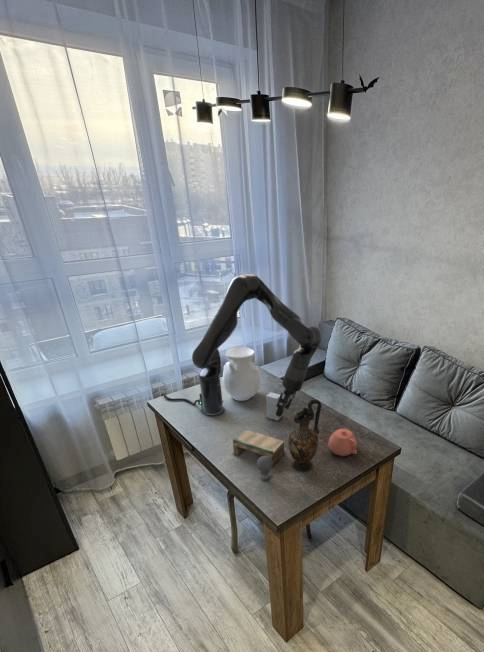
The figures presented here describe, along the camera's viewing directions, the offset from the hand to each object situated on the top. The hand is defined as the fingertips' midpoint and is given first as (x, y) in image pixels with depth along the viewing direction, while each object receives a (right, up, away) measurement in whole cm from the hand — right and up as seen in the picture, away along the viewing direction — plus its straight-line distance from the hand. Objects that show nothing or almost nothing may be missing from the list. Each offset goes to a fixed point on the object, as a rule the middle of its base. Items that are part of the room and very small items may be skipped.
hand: (282, 411), depth 157 cm
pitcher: (-25, +7, +47) cm, 54 cm away
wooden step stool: (-10, -17, +7) cm, 22 cm away
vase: (+8, -22, +2) cm, 23 cm away
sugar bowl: (+25, -17, +11) cm, 32 cm away
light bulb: (-6, -25, -5) cm, 27 cm away
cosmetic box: (-7, -3, +32) cm, 33 cm away
